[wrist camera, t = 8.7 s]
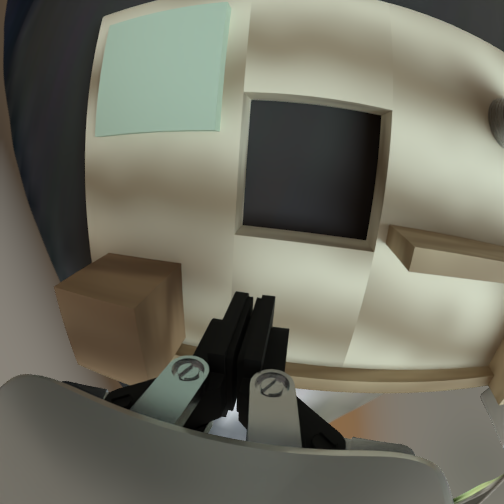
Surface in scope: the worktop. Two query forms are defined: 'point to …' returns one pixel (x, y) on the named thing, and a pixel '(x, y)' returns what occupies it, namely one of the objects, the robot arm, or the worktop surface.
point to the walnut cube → (124, 316)
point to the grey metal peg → (497, 120)
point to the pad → (164, 72)
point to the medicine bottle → (494, 413)
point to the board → (325, 246)
